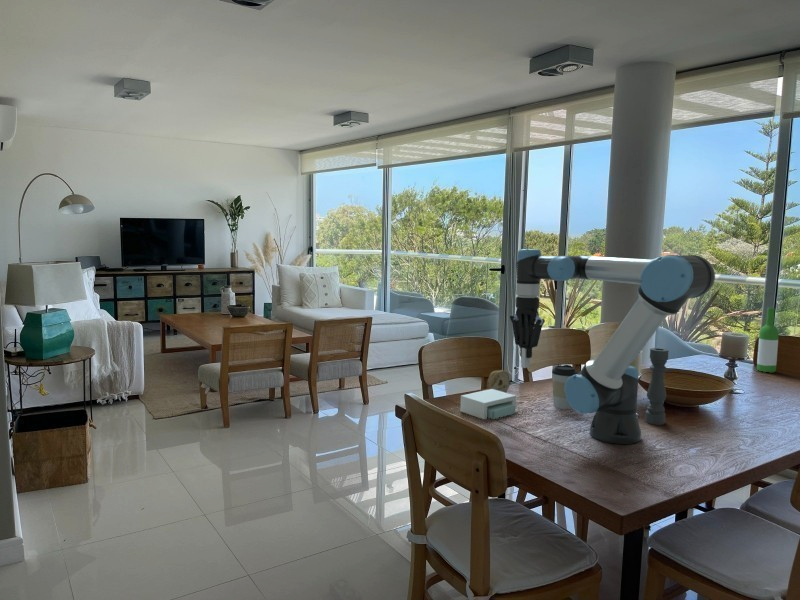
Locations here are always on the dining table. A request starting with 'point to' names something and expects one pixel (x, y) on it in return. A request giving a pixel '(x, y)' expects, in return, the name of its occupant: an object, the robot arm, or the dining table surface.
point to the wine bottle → (768, 344)
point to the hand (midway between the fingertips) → (525, 367)
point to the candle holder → (657, 387)
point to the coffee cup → (561, 385)
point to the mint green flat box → (500, 410)
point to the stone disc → (498, 381)
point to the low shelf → (484, 401)
